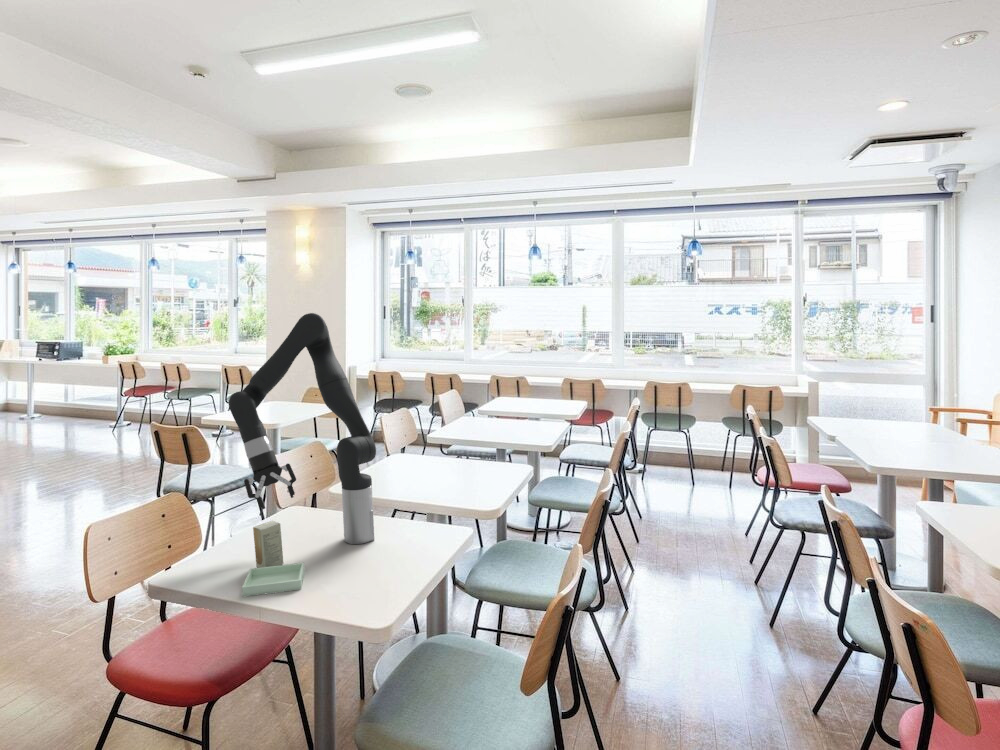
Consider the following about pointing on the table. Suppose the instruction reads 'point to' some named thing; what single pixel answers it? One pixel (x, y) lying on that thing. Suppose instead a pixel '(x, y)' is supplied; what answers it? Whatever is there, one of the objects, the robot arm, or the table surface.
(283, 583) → the tray
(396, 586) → the table surface
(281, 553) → the skincare box
